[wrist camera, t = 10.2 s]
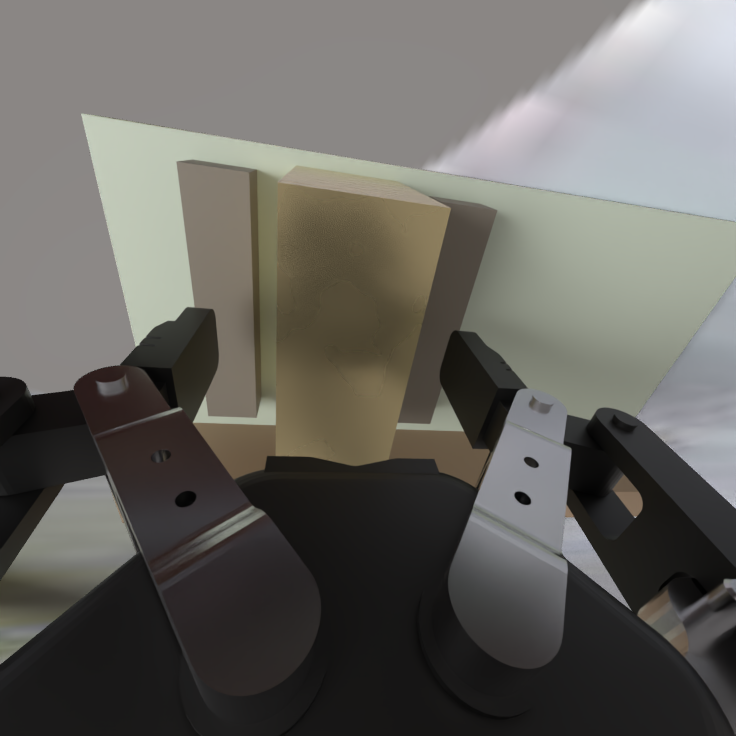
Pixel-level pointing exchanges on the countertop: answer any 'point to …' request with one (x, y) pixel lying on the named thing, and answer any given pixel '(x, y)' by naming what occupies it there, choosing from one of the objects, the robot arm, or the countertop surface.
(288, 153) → the door board
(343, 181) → the bar
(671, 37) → the countertop surface
